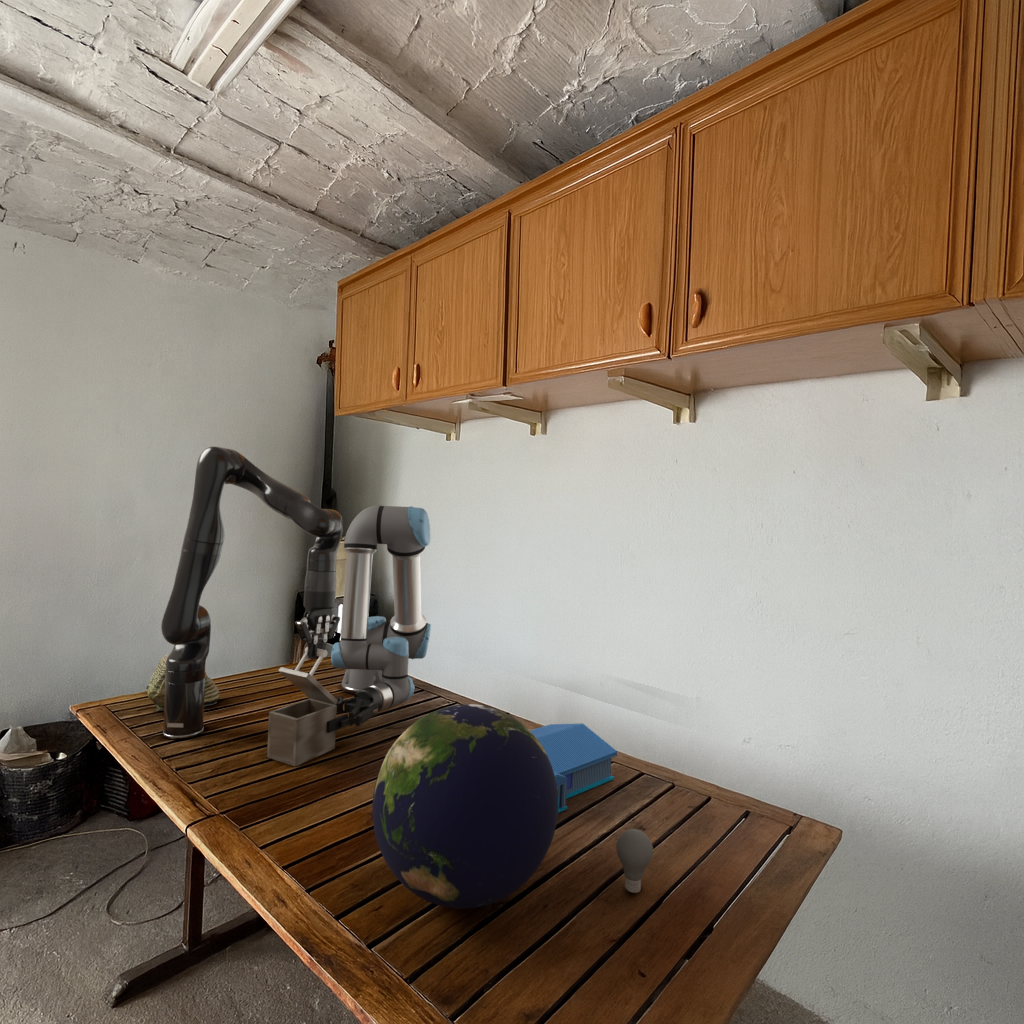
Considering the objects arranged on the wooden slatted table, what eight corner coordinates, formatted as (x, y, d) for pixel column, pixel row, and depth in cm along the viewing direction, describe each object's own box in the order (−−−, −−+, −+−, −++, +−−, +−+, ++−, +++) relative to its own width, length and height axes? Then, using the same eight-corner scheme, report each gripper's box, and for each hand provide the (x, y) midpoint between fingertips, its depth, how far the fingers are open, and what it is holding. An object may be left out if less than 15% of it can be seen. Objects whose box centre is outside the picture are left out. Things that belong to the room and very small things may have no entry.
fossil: (144, 707, 182) (145, 655, 182) (212, 696, 194) (213, 647, 194) (151, 716, 175) (153, 662, 175) (221, 703, 188) (223, 653, 188)
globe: (328, 919, 95) (336, 721, 95) (427, 827, 123) (434, 674, 122) (512, 985, 84) (522, 760, 83) (576, 867, 112) (584, 698, 111)
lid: (306, 677, 150) (325, 645, 155) (278, 670, 154) (297, 639, 159) (335, 704, 159) (353, 673, 164) (308, 697, 163) (326, 667, 168)
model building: (497, 839, 120) (500, 786, 120) (424, 791, 138) (425, 745, 138) (625, 783, 146) (627, 740, 146) (549, 749, 164) (551, 711, 164)
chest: (295, 766, 148) (297, 719, 148) (266, 757, 152) (268, 711, 152) (335, 748, 159) (336, 705, 159) (307, 740, 164) (309, 698, 163)
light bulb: (610, 879, 108) (613, 822, 108) (644, 879, 109) (647, 822, 109) (619, 902, 102) (622, 840, 102) (655, 901, 103) (658, 840, 103)
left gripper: (310, 592, 151) (305, 665, 150) (350, 588, 163) (346, 655, 163) (288, 588, 154) (283, 660, 154) (329, 585, 166) (324, 651, 166)
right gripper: (403, 721, 173) (345, 747, 153) (342, 705, 184) (281, 728, 164) (404, 693, 173) (346, 716, 153) (343, 679, 183) (282, 699, 164)
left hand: (315, 657), depth 158 cm, fingers closed on lid, 2 cm apart
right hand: (312, 722), depth 159 cm, fingers closed on chest, 9 cm apart
